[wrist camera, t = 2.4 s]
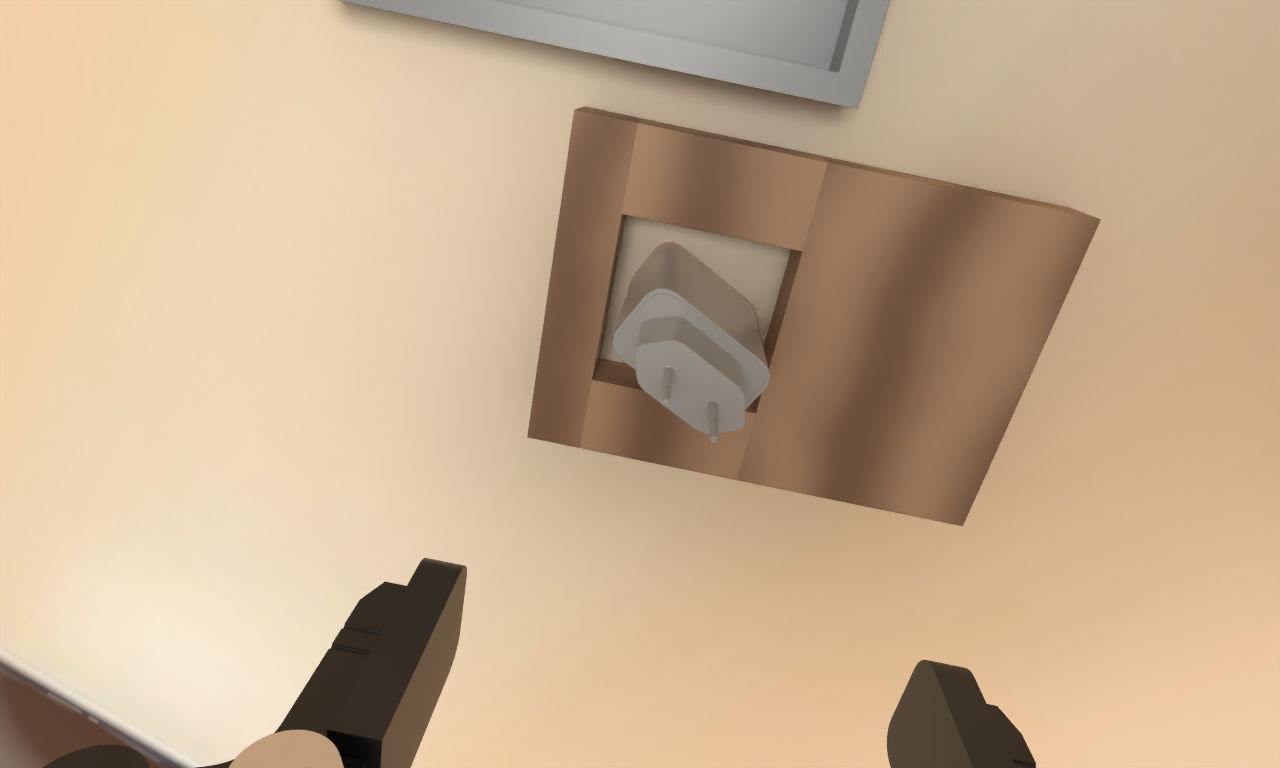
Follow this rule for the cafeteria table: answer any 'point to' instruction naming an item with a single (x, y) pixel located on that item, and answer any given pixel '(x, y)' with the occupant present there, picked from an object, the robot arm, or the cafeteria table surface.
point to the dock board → (814, 314)
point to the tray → (695, 36)
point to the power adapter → (692, 341)
